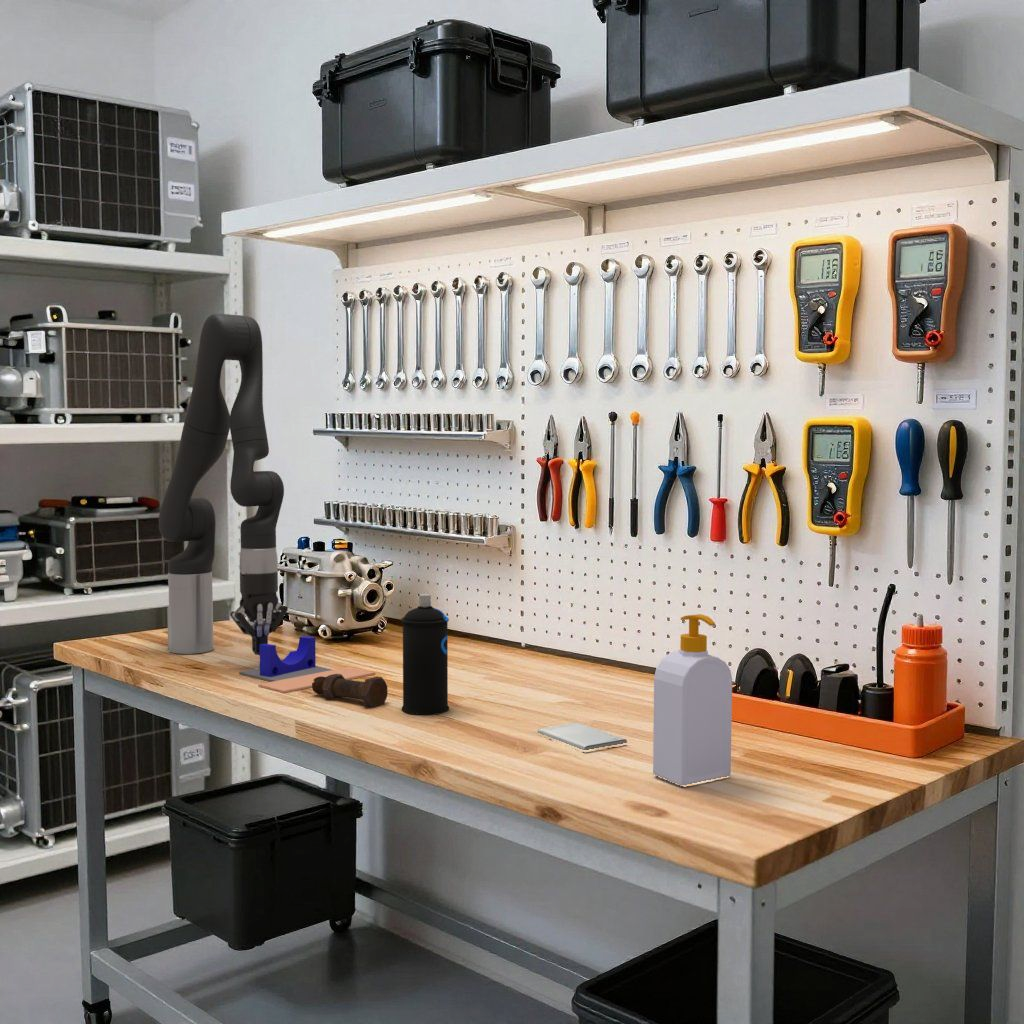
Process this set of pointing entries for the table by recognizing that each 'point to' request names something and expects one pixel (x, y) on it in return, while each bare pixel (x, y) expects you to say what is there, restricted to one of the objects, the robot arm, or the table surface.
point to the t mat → (303, 677)
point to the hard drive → (581, 736)
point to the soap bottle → (692, 711)
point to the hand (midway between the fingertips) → (260, 654)
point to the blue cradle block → (287, 658)
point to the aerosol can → (425, 659)
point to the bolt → (352, 689)
